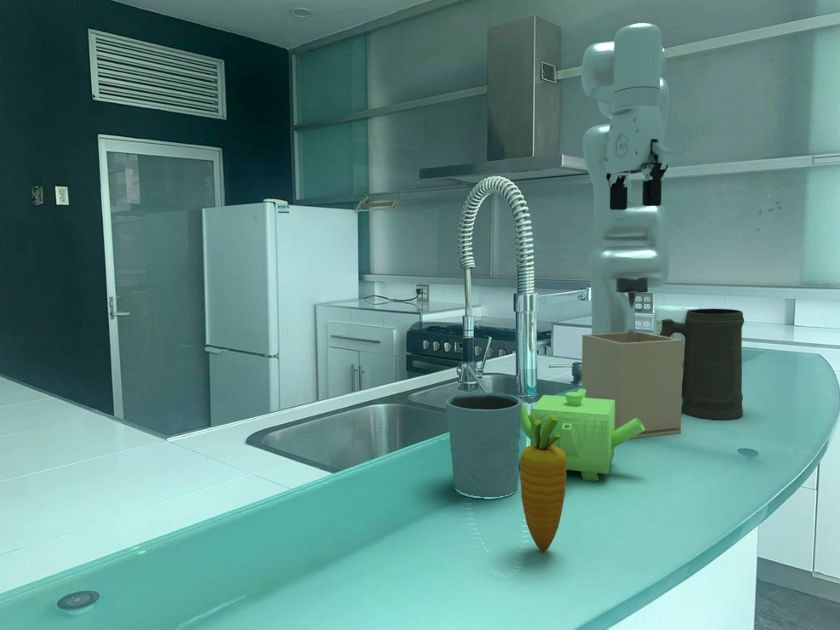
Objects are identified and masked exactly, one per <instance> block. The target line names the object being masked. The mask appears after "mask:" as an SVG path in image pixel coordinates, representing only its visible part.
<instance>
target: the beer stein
mask: <svg viewBox="0 0 840 630" xmlns="http://www.w3.org/2000/svg"><path fill="white" fill-rule="evenodd" d="M744 323H745V318H744V312H743V311H742V310H739V309H733V308H732V309H730V308H700V309H694V310H688V311H687V316H686V319H685V323H684V324H683V323H678V322H674V321H673V320H672V319H664V320H662V329H661V333H660V336H665V337H670V336H671V335H672V334H674V333H681V334H683V335H684V337H685V347H684V367H683V380H682V398H683V400H682V402H681V412H683V413H684V414H686V415H689V416H692V417H695V418H701V419H708V420H719V421H720V420H734V419H735V420H736V419H738V418H741V417H742V416H743V415H744V409H743V400H744V396H743V392H742V390H743V387H742V384H743V383H742V382H743V365H742V364H743V360H742V359H743V355H742V354H743V353H742V347H743V346H742V345H743V341H742V337H743V335H742V334H743V331H742V330H743V325H744Z"/></svg>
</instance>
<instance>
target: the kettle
mask: <svg viewBox="0 0 840 630" xmlns="http://www.w3.org/2000/svg"><path fill="white" fill-rule="evenodd" d="M564 395H565V396H564ZM564 395H550V394H547V395H546V394H543V395H542V396H541V397H540V398H539V399H538V401H537V402H536V403H535V404H534V405H533V407H532V408H530V414H533V415H534V416H535V419H536V420H540V421H541V429H540V439H541V436H542V432H543V429H544V427H545V425H546V423H547V421H548V419H549V417H550V415H554V416H556V417H557V418H558V422H557V424H556V426H555V428H554V429H553V431H552V433H551V434H550V437H549V439H550V438H551V437H552V436H553V435H554V434H558V435H560V438H559V439H558V440H556V441H555V442H554V443H553V444H552V445H553V446H555V447H558V448H560V449H562V450H563V451H564V452H565V454H566V459H567V463H566V471H573V472H574V471H575V472H576V471H577V472H580V473H581V478H582V479H583V480H585V481H598V480H599V476H598V474H601V475H609V473H610V469H611V466H612V463H613V458H614V457H615V456H614V455H615V447H617V446H620V445H621V444H623V443H625V442H626V441H628V440H630V438H631V439H633V438H632V437H634V436H636V435H638V434H639V433H641V432H643V431H645V428H644V426H643V425H642V423H641V422H640V421H639V419H638V418H635V419H633V420H631V421H630V422H628V423H627V424H625V425H623V426H622V427H620V428H618V429H617V430H615V400H609V399H595V398H586V390H585V389H582V388H579V389H577V391H568V392H565V393H564ZM530 414H529V412H528V410H527V407H526V405H525V403H524V402H523V401H522V407H521V427H520V428H521V430H522V431H523V434H525V436H526V437H527V438H528V439H529V440H530V445H535V444H536V442H535V438H534V433H533V429H532V426H531V423H530V421H529V418H528V416H529V415H530Z"/></svg>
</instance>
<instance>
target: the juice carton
mask: <svg viewBox="0 0 840 630" xmlns="http://www.w3.org/2000/svg"><path fill="white" fill-rule="evenodd" d="M694 309H701V306H680V305H679V306H678V305H672V304H671V305H669V304H667V305H666V304H665V305H660V306H656V307H655V308H654V315H653V319H652V320H653V322H652V323H653V324H652V325H653V326H652V334H655V335H660V333H661V329H662V320H664V319H672V320H673V321H674V322H678V323H683V324H684V323H685V319H686V316H687V311H688V310H694ZM670 338H675V339H680V340H683V366H682V380H683V367H684V347H685V337H684V335H683V334H681V333H674V334H672V335H671V336H670ZM682 401H683V398H682Z"/></svg>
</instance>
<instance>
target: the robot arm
mask: <svg viewBox="0 0 840 630" xmlns="http://www.w3.org/2000/svg"><path fill="white" fill-rule="evenodd" d="M661 31H662V30H661V29H660V27H659V26H657V25H655V24H652V23H647V22H641V23H633V24H629V25H626V26H624V27H622V28H620V29H619V30H617V32H616V34H615V36H614V39H613V41H603V42H596V43H593V44H591V45H589V46H588V47H587V48H586V50H585V52H584V53H583V56H582V62H581V69H580V71H581V72H580V73H581V74H580V78H581V86H582V89H583V90H582V91H584V94H585V95H586V96H588V98H590V99H592V100H596V101H597V107H598V109H599V111H600V113H601V114H602V115H603V116H604V117H606V118H608V119H610V123H605V124H599V125H595V126H593V127H590V128H589V129H587V131H585V133H584V135H583V138H582V152H583V159H584V164H585V166H586V170H587V172H588V175H589V177H590V180H591V183H592V187H593V210H594V212H593V213H594V214H593V216H594V218H593V219H594V221H593V222H594V233H595V236H596V238H597V240H599V241H600V242H603V243H608V244H609V243H611V244H612V243H613V244H615V243H616V244H623V243H624V244H629V243H630V244H632V243H633V244H636V243H637V244H638V243H642V244H643V245H613V246H612V245H610V246H603V247H599V248H596V249H594V250H593V251H592V252H590V256H589V257H588V261H587V262H588V266H587V267H588V274H589V281H590V289H591V290H590V291H591V292H590V293H591V334H605V333H621V332H627V328H628V295H626V294H625V293H623V292H616V278H618V277H647V278H648V289H651V288H659V287H662V286H664V285H665V284H666V283H667V281H668V279H669V276H670V275H669V274H670V257H669V254H670V253H669V233H668V231H669V230H668V229H669V228H668V218H667V212H666V209H665V207H664V206H663V204H662V184H663V183H662V182H663V181H664V179H665V173H666V172H667V169H668V165H669V161H670V159H671V157H672V150H671V149H669V148H667V147H666V146H665V145H664V139H665V131H666V125H667V119H668V115H669V105H670V90H669V86H668V83H667V81H666V80H665V79H664V78H663V77H661V76H662V74H663V73H665V70H666V63H667V57H666V49H665V48H664V47H663V45H662V32H661ZM640 173H641V174H643V176H644V178H645V180H643V181H642V198H641V199H642V200H639V201H638V200H637V201H636V200H635V201H634V200H633V199H632V182H631V180H630V179H629V177H630V175H633V174H634V175H635V174H640Z"/></svg>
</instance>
